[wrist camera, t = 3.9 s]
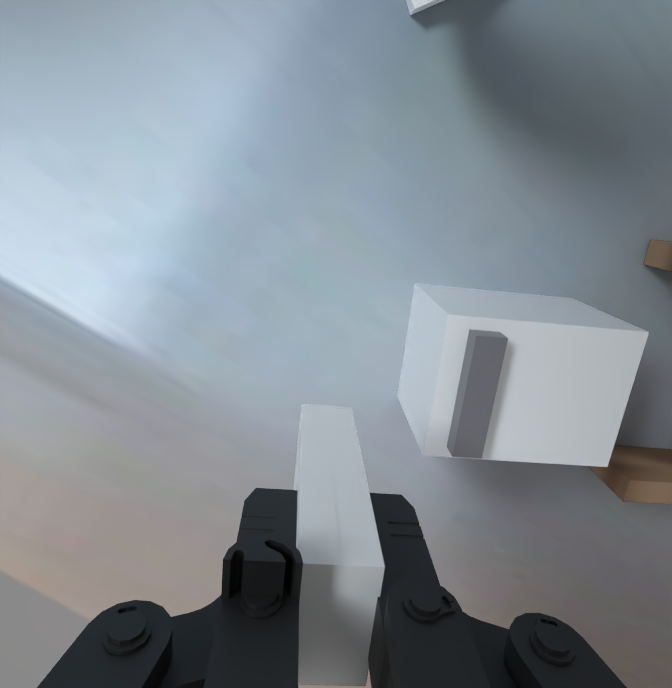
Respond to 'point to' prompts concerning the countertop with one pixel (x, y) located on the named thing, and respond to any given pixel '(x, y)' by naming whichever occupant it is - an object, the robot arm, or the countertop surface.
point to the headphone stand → (420, 5)
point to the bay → (636, 462)
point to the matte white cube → (516, 376)
